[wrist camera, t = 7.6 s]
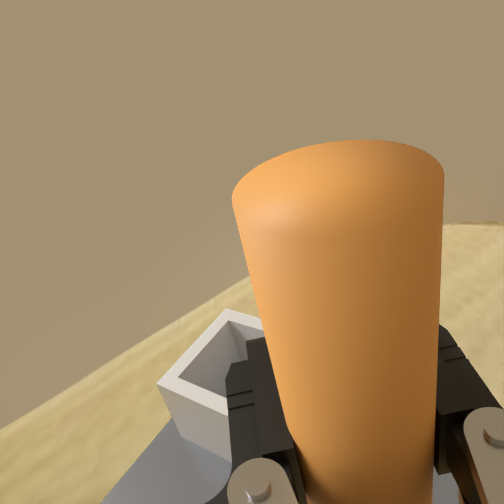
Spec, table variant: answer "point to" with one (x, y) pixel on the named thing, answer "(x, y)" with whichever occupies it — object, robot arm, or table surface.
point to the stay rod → (351, 311)
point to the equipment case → (205, 425)
